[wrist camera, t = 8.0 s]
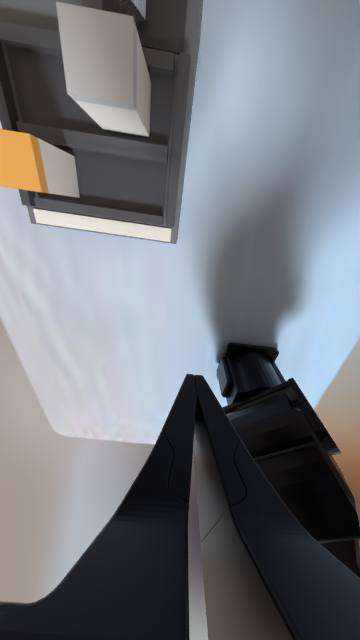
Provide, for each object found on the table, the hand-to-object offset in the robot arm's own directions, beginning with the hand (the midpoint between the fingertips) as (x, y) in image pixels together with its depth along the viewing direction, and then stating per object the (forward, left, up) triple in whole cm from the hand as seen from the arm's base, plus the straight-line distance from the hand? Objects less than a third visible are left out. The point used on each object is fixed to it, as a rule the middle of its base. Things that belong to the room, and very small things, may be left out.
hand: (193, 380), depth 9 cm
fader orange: (+11, -8, -10) cm, 17 cm away
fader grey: (+6, -13, -10) cm, 17 cm away
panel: (+8, -11, -12) cm, 18 cm away
